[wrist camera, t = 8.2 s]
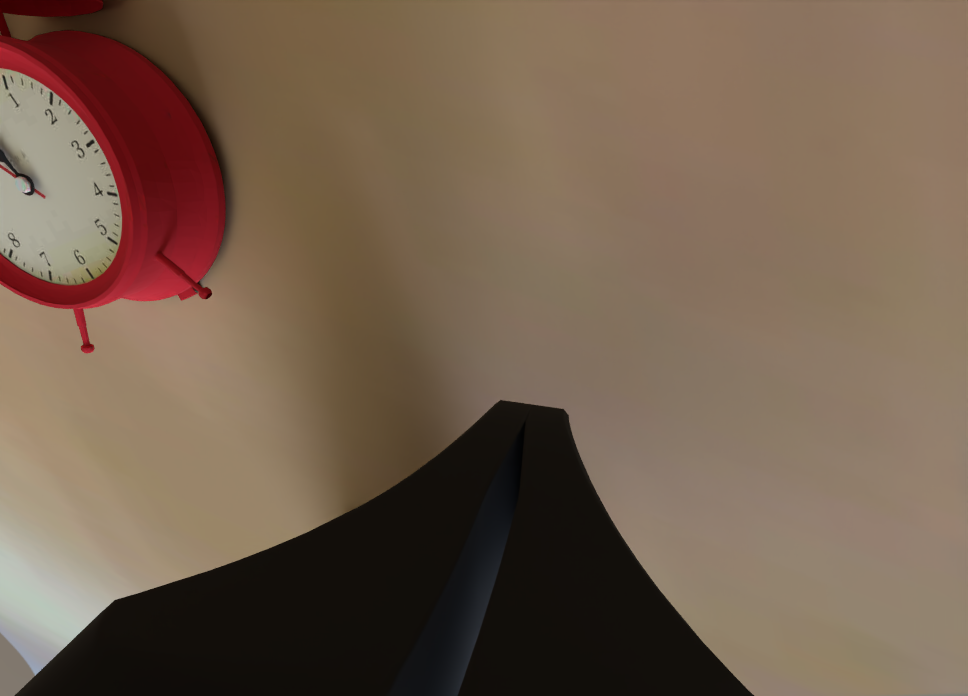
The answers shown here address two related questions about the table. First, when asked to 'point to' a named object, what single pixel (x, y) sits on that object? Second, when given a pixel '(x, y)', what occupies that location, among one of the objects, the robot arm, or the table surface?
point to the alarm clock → (99, 172)
